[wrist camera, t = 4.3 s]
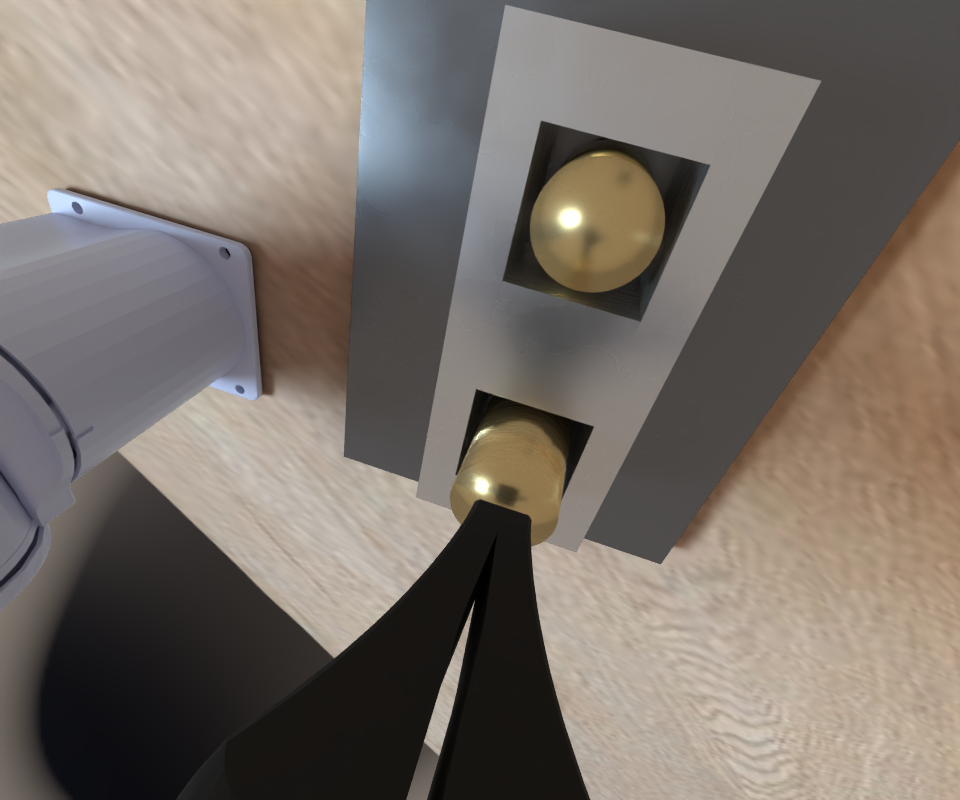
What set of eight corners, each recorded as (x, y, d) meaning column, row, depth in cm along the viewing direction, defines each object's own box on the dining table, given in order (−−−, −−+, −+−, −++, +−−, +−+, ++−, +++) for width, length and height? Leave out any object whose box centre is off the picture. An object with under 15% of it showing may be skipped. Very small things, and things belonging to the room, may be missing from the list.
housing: (452, 426, 21) (415, 497, 17) (539, 29, 13) (504, 4, 9) (584, 469, 20) (576, 552, 17) (762, 84, 12) (820, 81, 9)
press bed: (354, 441, 25) (343, 456, 24) (397, -211, 12) (377, -237, 11) (659, 544, 23) (660, 564, 22) (1074, -73, 10) (1120, -90, 10)
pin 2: (540, 230, 15) (516, 273, 12) (569, 127, 14) (550, 139, 10) (631, 256, 15) (633, 307, 12) (671, 154, 13) (689, 176, 10)
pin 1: (479, 437, 17) (442, 526, 14) (497, 369, 16) (460, 451, 12) (558, 463, 17) (540, 561, 14) (585, 397, 15) (573, 489, 12)
